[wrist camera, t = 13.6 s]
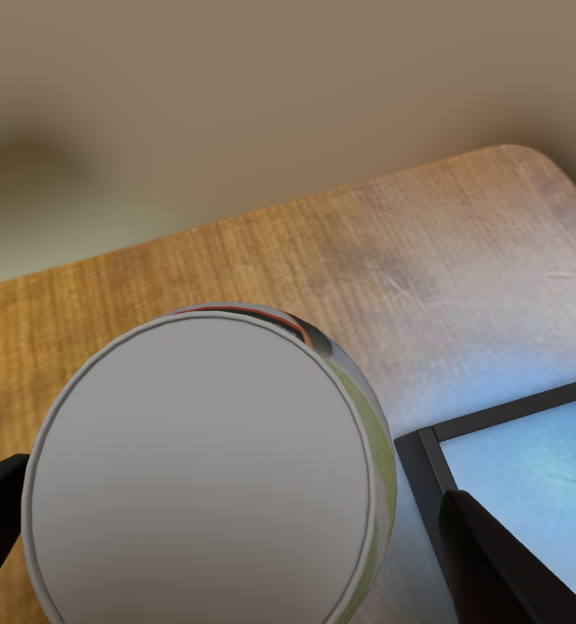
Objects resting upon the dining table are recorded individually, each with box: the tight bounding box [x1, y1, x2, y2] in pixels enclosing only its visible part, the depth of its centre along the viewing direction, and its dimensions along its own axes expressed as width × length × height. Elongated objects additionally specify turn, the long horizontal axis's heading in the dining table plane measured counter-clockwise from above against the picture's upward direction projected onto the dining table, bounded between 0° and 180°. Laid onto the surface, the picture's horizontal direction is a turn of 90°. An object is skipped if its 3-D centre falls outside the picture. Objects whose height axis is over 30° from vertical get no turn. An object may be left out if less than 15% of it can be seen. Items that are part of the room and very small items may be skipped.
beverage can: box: [21, 302, 397, 624], centre depth 11 cm, size 6×7×12 cm
